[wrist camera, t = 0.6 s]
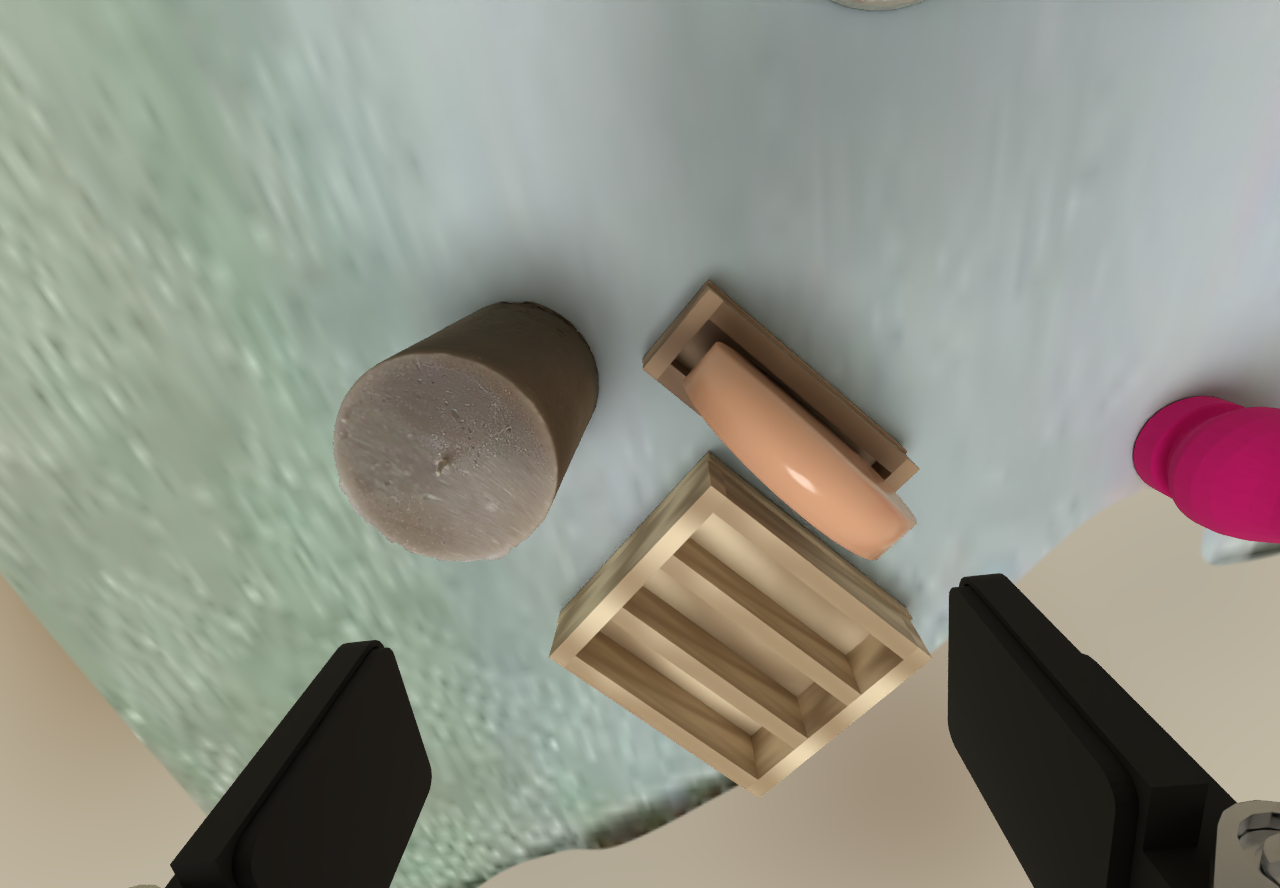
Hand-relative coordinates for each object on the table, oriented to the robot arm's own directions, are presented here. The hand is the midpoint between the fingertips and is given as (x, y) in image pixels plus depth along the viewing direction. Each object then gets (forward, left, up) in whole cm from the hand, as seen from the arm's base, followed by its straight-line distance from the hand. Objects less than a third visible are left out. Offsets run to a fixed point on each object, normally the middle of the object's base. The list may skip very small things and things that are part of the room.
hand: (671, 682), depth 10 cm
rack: (+12, +15, -29) cm, 35 cm away
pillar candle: (+8, -6, -29) cm, 31 cm away
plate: (-1, +7, -28) cm, 29 cm away
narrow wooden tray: (-1, +7, -29) cm, 30 cm away
